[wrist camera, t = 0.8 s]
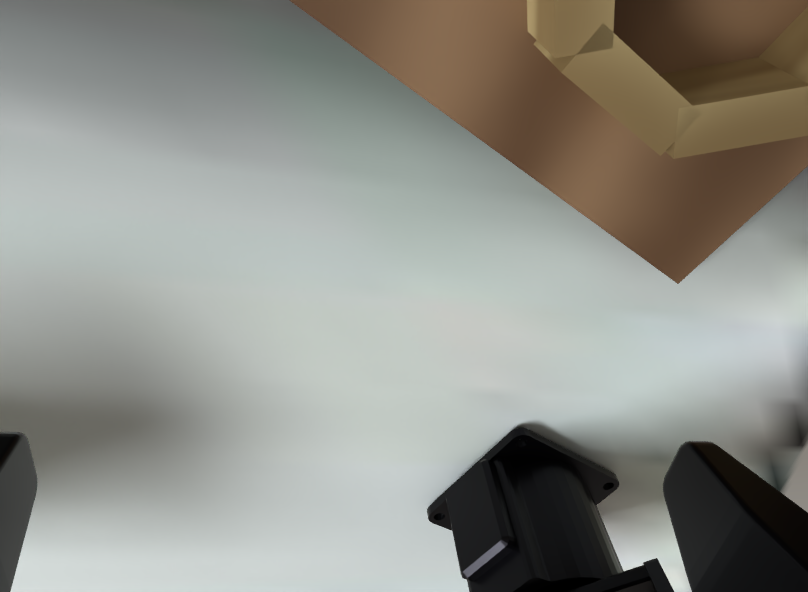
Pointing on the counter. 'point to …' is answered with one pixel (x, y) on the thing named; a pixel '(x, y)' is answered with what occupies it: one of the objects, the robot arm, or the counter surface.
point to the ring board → (613, 101)
